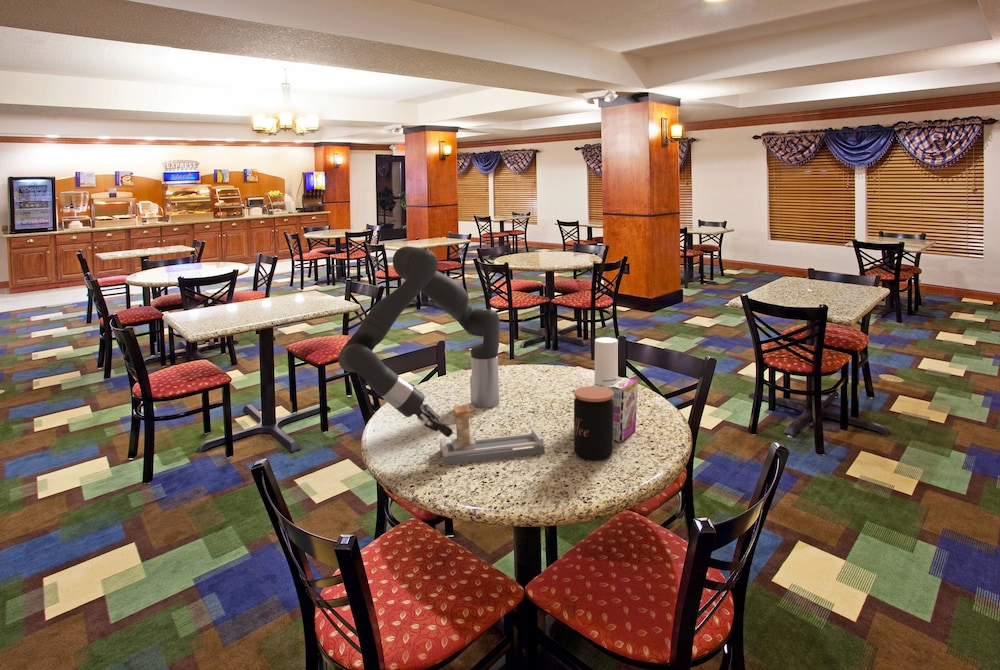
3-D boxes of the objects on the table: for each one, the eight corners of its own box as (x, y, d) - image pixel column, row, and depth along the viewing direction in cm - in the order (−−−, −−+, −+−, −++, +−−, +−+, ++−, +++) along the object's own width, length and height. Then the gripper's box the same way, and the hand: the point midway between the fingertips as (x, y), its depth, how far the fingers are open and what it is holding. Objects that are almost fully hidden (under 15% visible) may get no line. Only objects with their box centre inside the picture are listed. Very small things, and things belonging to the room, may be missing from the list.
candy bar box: (622, 443, 174) (623, 389, 170) (606, 440, 176) (607, 386, 173) (637, 430, 183) (638, 379, 179) (621, 427, 185) (622, 376, 182)
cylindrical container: (616, 419, 192) (617, 343, 186) (593, 418, 193) (594, 342, 188) (616, 411, 199) (618, 337, 193) (594, 410, 200) (595, 337, 194)
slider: (454, 452, 165) (452, 412, 162) (451, 445, 170) (449, 406, 167) (475, 449, 166) (474, 410, 164) (472, 442, 171) (471, 404, 168)
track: (444, 465, 163) (444, 451, 162) (440, 450, 172) (439, 437, 171) (544, 453, 168) (544, 440, 168) (534, 439, 178) (534, 426, 177)
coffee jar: (570, 446, 172) (570, 386, 168) (607, 444, 173) (608, 385, 169) (578, 463, 162) (578, 399, 158) (617, 460, 163) (618, 397, 159)
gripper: (414, 393, 155) (463, 433, 160) (410, 378, 167) (456, 415, 173) (394, 415, 155) (444, 453, 160) (392, 398, 167) (438, 434, 173)
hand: (450, 433), depth 166 cm, fingers closed
